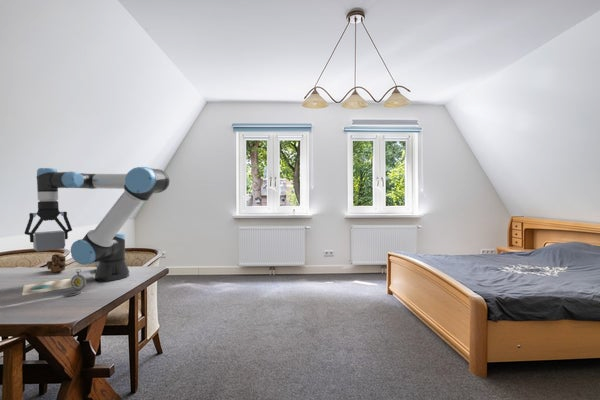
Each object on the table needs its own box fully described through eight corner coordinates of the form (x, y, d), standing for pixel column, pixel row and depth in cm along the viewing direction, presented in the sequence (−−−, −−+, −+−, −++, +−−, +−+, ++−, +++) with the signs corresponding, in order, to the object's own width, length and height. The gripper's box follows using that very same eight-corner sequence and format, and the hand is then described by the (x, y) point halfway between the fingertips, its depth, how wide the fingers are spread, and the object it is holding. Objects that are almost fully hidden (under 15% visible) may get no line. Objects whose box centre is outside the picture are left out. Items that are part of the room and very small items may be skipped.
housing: (61, 246, 152) (61, 230, 151) (64, 248, 144) (63, 231, 144) (35, 249, 145) (34, 232, 144) (36, 251, 137) (36, 233, 137)
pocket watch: (60, 298, 125) (59, 273, 125) (64, 292, 133) (64, 269, 132) (84, 294, 129) (83, 271, 129) (87, 289, 136) (87, 267, 136)
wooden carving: (42, 271, 170) (42, 253, 170) (52, 269, 175) (51, 252, 174) (61, 274, 164) (60, 255, 164) (70, 272, 168) (70, 254, 168)
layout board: (82, 278, 155) (82, 276, 155) (86, 286, 140) (86, 284, 140) (23, 287, 140) (23, 285, 140) (22, 297, 126) (22, 295, 126)
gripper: (76, 200, 155) (77, 243, 155) (15, 201, 139) (17, 250, 139) (78, 200, 149) (80, 245, 150) (15, 201, 134) (17, 252, 134)
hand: (49, 247), depth 145 cm, fingers closed on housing, 10 cm apart
